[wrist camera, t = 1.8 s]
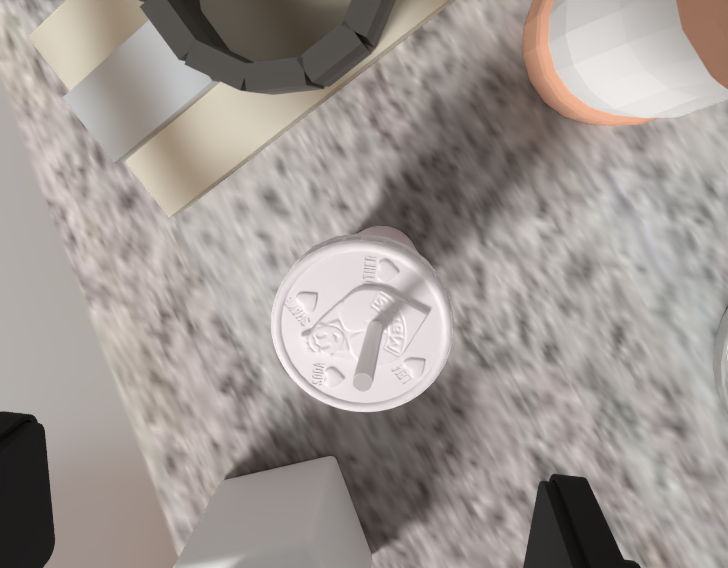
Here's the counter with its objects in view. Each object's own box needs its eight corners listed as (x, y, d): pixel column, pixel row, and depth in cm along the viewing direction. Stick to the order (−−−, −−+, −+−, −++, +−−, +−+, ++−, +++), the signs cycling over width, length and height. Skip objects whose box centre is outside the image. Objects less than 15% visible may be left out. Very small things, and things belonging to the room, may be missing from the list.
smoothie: (459, 305, 30) (487, 464, 16) (339, 335, 31) (271, 507, 17) (426, 181, 28) (426, 244, 15) (300, 218, 29) (194, 307, 16)
